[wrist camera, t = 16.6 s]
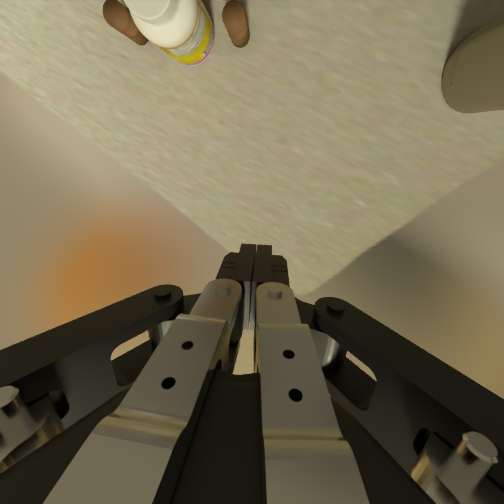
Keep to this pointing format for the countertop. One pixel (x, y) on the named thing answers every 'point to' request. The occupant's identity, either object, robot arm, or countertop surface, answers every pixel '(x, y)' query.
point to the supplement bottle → (175, 27)
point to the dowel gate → (125, 24)
